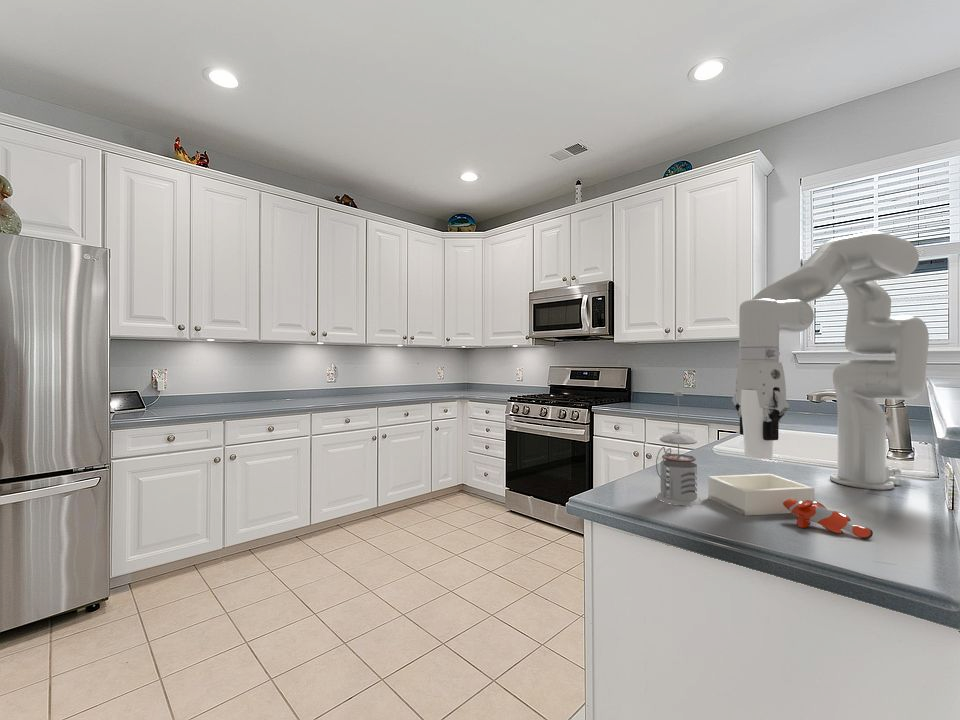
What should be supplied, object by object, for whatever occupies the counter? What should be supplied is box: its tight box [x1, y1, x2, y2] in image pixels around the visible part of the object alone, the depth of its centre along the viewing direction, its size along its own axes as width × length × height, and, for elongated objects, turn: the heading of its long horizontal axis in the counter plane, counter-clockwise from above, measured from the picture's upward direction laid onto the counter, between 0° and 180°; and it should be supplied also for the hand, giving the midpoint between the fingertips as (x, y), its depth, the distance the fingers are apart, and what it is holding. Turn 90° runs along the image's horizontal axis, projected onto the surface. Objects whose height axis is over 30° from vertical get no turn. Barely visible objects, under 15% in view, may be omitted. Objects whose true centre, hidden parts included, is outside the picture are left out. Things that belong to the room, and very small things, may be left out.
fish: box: [783, 499, 874, 540], centre depth 87 cm, size 13×5×9 cm
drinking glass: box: [741, 389, 774, 460], centre depth 101 cm, size 7×7×15 cm
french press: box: [655, 390, 703, 507], centre depth 105 cm, size 10×12×25 cm
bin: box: [707, 473, 815, 517], centre depth 101 cm, size 16×12×5 cm
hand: (758, 436), depth 101 cm, fingers closed on drinking glass, 6 cm apart
